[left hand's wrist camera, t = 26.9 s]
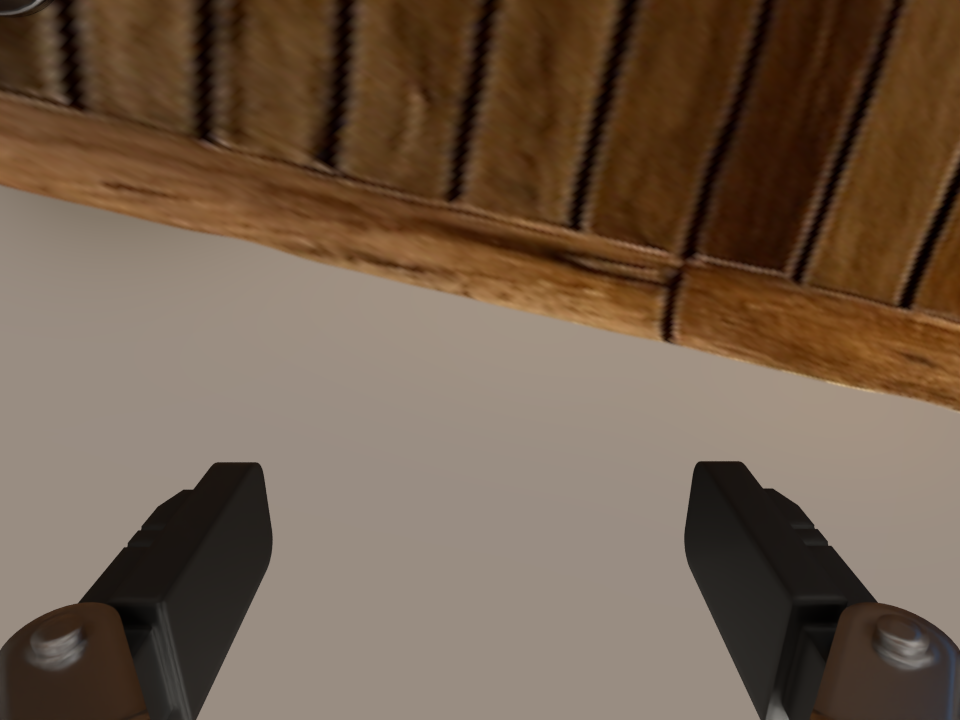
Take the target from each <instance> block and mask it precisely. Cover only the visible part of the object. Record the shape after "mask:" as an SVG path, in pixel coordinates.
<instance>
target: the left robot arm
mask: <svg viewBox="0 0 960 720" xmlns="http://www.w3.org/2000/svg"><path fill="white" fill-rule="evenodd" d="M52 1H53V0H0V16H3V17H22V16H27V15H31V14H34V13H36V12H38V11H40V10H42V9H44V8H45V7H47V6H48V5H49V4H50V3H52ZM272 540H273V539H272V528H271V521H270V514H269V508H268V501H267V494H266V487H265V481H264V474H263V470H262V468H261V466H260V464H259V463H256V462H217V463H215V464H213V465H212V466H211V467H210V469H209V470H208V471H207V473H206V474H205V475H204V476H203V478H202V479H201V480H200V482H199V483H198V484H197V486H196V487H195V488H194V489H193V490H182V491H181V492H179V493H178V494H176V495H175V496H173V497H172V498H170V499H169V500H167V501H166V502H164V503H163V504H161V505H160V506H158V507H157V508H156V510H155V511H154V512H153V513H152V514H151V516H150V517H149V518H148V519H147V520H146V522H145V523H144V524H143V525H142V529H141V531H137V533H136V534H135V535H134V536H133V537H132V539H131V540H130V541H129V542H128V547H124V548H123V550H122V551H121V552H120V553H119V554H118V556H117V557H116V558H115V559H114V560H113V562H112V563H111V564H110V565H109V566H108V568H107V569H106V570H105V571H104V572H103V574H102V575H101V576H100V577H99V578H98V580H97V581H96V582H95V583H94V585H93V586H92V587H91V588H90V589H89V591H88V592H87V593H86V594H85V595H84V597H83V598H82V599H81V600H80V601H79V603H78V604H73V605H69V606H65V607H62V608H59V609H56V610H53V611H51V612H49V613H46V614H44V615H42V616H40V617H38V618H37V619H35V620H33V621H32V622H30V623H28V624H27V625H25V626H24V627H23V628H21V629H20V630H19V631H17V632H16V633H15V634H14V635H13V636H12V637H11V638H10V639H9V640H8V641H7V642H6V643H5V644H4V646H3V647H2V648H1V650H0V720H196V719H197V716H198V714H199V712H200V710H201V708H202V706H203V704H204V702H205V700H206V697H207V695H208V693H209V691H210V689H211V687H212V685H213V683H214V680H215V678H216V676H217V674H218V672H219V670H220V668H221V666H222V664H223V661H224V659H225V657H226V655H227V653H228V651H229V649H230V647H231V644H232V642H233V640H234V638H235V636H236V634H237V632H238V630H239V627H240V625H241V623H242V621H243V619H244V617H245V615H246V613H247V611H248V608H249V606H250V604H251V602H252V600H253V598H254V596H255V593H256V591H257V589H258V587H259V585H260V583H261V581H262V579H263V576H264V574H265V572H266V570H267V568H268V565H269V562H270V558H271V553H272ZM684 542H685V552H686V557H687V561H688V565H689V567H690V569H691V571H692V574H693V576H694V578H695V580H696V582H697V584H698V587H699V589H700V591H701V593H702V595H703V597H704V599H705V601H706V604H707V606H708V608H709V610H710V612H711V614H712V617H713V619H714V621H715V623H716V625H717V627H718V629H719V632H720V634H721V636H722V638H723V640H724V642H725V644H726V647H727V649H728V651H729V653H730V655H731V657H732V659H733V662H734V664H735V666H736V668H737V670H738V672H739V675H740V677H741V679H742V681H743V683H744V685H745V687H746V689H747V692H748V694H749V696H750V698H751V700H752V702H753V705H754V707H755V709H756V711H757V713H758V715H759V717H760V719H761V720H960V650H959V648H958V647H957V646H956V644H955V643H954V642H953V641H952V640H951V639H950V638H949V637H948V636H947V635H946V634H945V633H944V632H943V631H941V630H940V629H939V628H937V627H936V626H935V625H933V624H932V623H930V622H928V621H927V620H925V619H923V618H921V617H920V616H918V615H916V614H914V613H911V612H909V611H907V610H904V609H901V608H898V607H895V606H891V605H887V604H882V603H878V602H877V601H876V600H875V599H874V597H873V596H872V595H871V594H870V593H869V591H868V590H867V589H866V588H865V586H864V585H863V584H862V583H861V581H860V580H859V579H858V578H857V577H856V575H855V574H854V573H853V572H852V570H851V569H850V568H849V567H848V566H847V564H846V563H845V562H844V561H843V559H842V558H841V557H840V556H839V555H838V553H837V552H836V551H835V550H834V549H833V547H832V546H828V541H827V540H826V539H825V538H824V536H823V535H822V534H821V533H820V531H819V530H818V529H815V528H814V524H813V523H812V522H811V521H810V519H809V518H808V517H807V516H806V514H805V513H804V512H803V511H802V510H801V508H800V507H799V506H798V505H797V504H795V503H794V502H792V501H791V500H789V499H788V498H786V497H785V496H783V495H782V494H780V493H779V492H777V491H775V490H774V489H763V488H762V487H761V485H760V484H759V483H758V482H757V480H756V479H755V478H754V476H753V475H752V474H751V472H750V471H749V470H748V468H747V467H746V466H745V465H744V464H743V463H742V462H739V461H701V462H698V463H697V464H696V466H695V468H694V472H693V478H692V485H691V492H690V498H689V505H688V512H687V519H686V526H685V534H684Z"/></svg>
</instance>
